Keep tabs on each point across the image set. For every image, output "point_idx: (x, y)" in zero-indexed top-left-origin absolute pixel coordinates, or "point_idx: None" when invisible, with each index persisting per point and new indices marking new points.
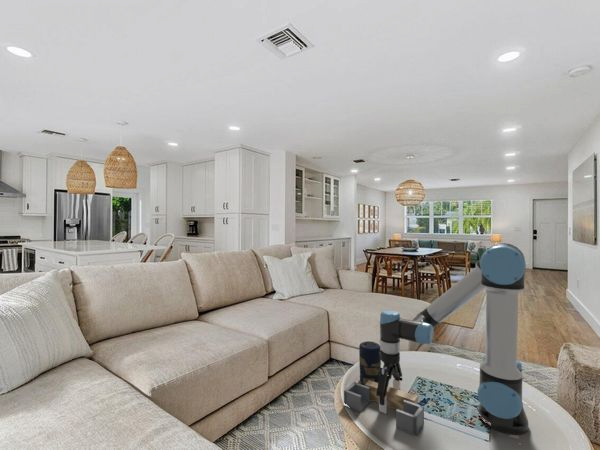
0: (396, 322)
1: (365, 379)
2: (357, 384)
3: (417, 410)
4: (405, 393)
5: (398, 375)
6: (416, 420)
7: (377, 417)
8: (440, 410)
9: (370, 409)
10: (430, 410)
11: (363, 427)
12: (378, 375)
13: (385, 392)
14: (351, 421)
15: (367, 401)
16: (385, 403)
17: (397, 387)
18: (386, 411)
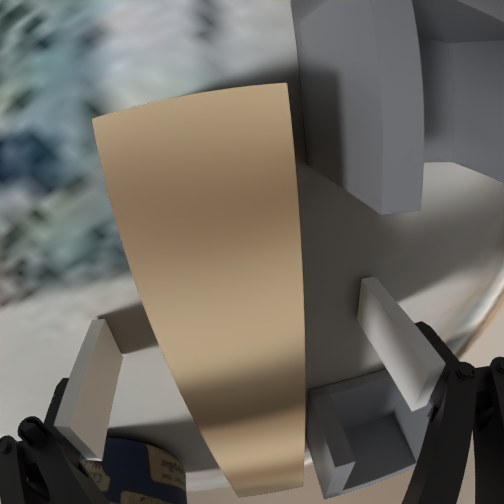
0: None
1: (183, 484)
2: (339, 488)
3: (473, 4)
4: (180, 291)
5: (67, 494)
6: None
7: (422, 288)
8: (15, 13)
9: (371, 352)
10: (59, 50)
11: (497, 282)
12: (116, 483)
13: (467, 394)
14: (477, 333)
15: (329, 398)
16: (413, 324)
17: (92, 388)
18: (370, 284)
